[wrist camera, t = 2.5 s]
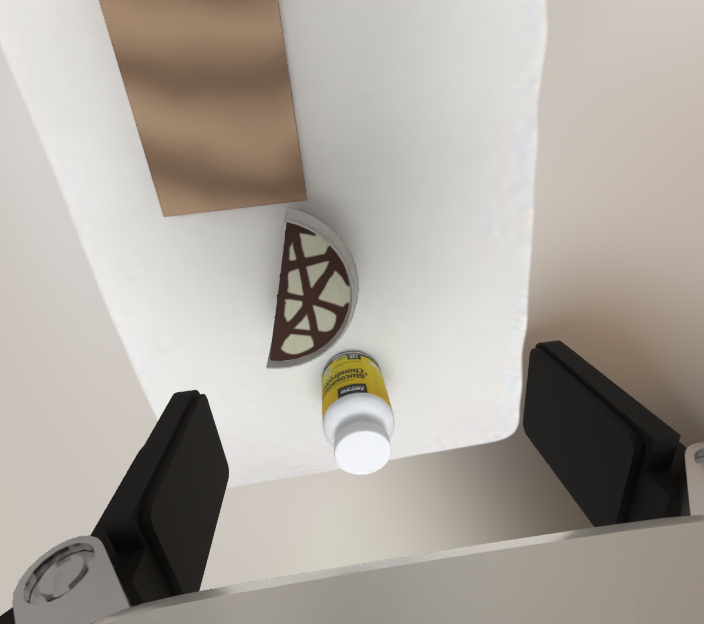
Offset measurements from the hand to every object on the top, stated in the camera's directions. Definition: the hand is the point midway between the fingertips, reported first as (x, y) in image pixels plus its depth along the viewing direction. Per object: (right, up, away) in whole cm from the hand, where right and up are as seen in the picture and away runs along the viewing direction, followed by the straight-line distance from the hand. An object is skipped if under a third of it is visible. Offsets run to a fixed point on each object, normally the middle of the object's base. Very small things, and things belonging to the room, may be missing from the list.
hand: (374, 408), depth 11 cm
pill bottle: (-1, -4, +31) cm, 31 cm away
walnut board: (-12, +21, +18) cm, 30 cm away
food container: (-4, +7, +26) cm, 27 cm away
